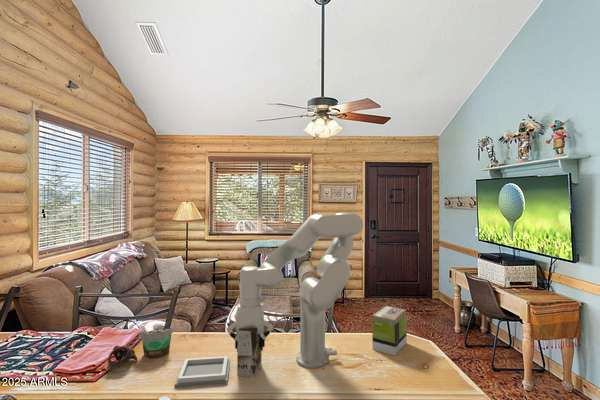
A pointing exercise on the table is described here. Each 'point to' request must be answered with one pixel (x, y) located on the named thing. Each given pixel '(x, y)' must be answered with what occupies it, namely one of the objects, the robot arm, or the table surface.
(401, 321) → the tea box
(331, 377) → the table surface
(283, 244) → the robot arm
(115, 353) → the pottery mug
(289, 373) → the table surface
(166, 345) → the food container
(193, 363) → the board
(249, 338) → the coffee box
